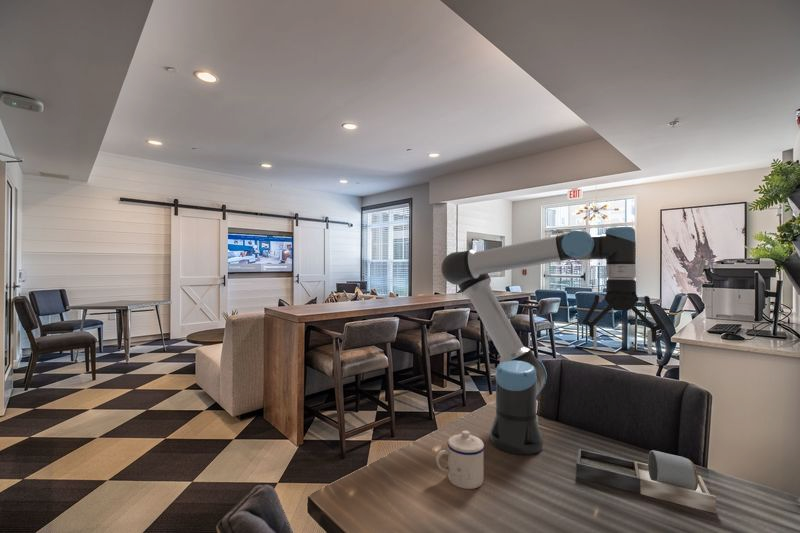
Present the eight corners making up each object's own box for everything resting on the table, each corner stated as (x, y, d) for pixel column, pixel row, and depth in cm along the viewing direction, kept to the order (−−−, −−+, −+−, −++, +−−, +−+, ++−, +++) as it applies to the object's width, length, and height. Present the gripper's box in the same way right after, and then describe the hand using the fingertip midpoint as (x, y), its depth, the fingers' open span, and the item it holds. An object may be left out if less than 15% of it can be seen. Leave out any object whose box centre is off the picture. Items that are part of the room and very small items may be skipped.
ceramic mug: (700, 501, 78) (701, 468, 78) (656, 493, 81) (657, 461, 80) (680, 471, 88) (681, 442, 88) (642, 465, 91) (643, 437, 90)
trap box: (576, 477, 88) (576, 463, 88) (578, 454, 99) (578, 441, 99) (716, 513, 75) (716, 497, 75) (700, 482, 86) (700, 467, 86)
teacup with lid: (477, 468, 92) (477, 423, 92) (489, 489, 83) (489, 439, 83) (432, 470, 90) (432, 425, 91) (440, 492, 81) (440, 441, 82)
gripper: (573, 278, 107) (573, 348, 106) (676, 279, 94) (677, 358, 94) (574, 278, 113) (575, 344, 113) (671, 279, 101) (672, 353, 100)
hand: (621, 350), depth 103 cm, fingers open, 13 cm apart
